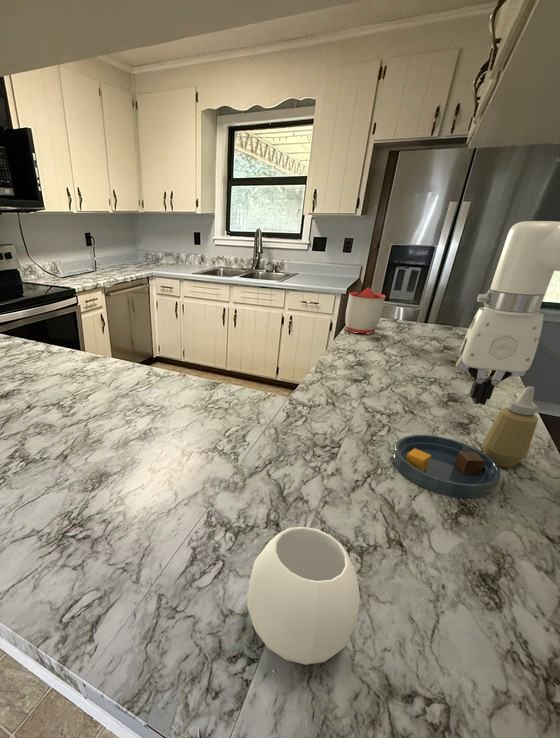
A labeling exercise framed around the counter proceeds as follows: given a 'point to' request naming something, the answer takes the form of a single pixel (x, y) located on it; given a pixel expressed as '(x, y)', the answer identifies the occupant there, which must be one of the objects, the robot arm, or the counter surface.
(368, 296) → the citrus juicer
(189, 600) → the counter surface
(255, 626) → the cup
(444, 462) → the plate
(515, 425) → the squeeze bottle
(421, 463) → the mustard block
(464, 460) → the walnut block
